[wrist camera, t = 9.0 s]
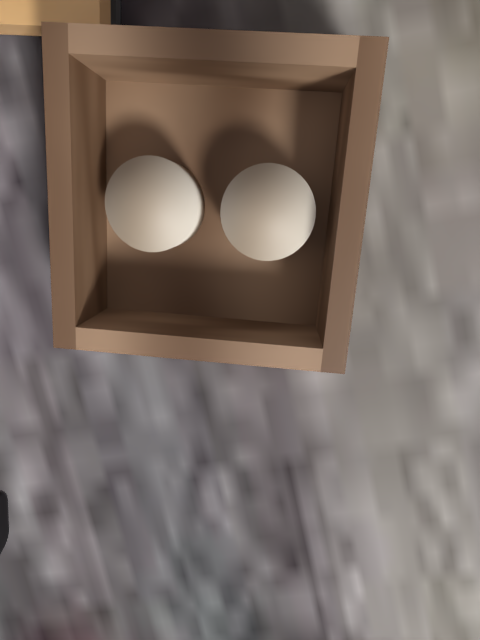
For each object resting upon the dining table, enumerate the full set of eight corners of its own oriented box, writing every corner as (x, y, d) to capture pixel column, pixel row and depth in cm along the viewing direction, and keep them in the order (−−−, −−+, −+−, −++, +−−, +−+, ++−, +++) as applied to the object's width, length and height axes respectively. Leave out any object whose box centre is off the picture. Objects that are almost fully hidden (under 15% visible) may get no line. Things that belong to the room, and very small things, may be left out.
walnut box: (363, 76, 16) (389, 37, 13) (331, 339, 19) (344, 374, 15) (94, 63, 17) (41, 21, 13) (97, 319, 20) (53, 347, 16)
